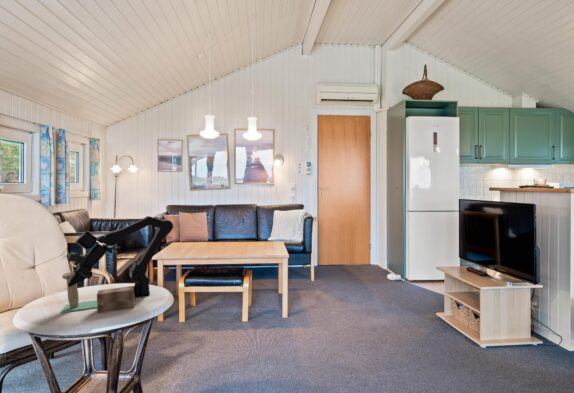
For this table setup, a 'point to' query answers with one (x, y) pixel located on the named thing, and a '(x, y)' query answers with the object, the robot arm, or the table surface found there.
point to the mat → (80, 306)
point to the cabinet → (115, 299)
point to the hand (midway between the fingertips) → (67, 285)
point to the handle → (71, 290)
